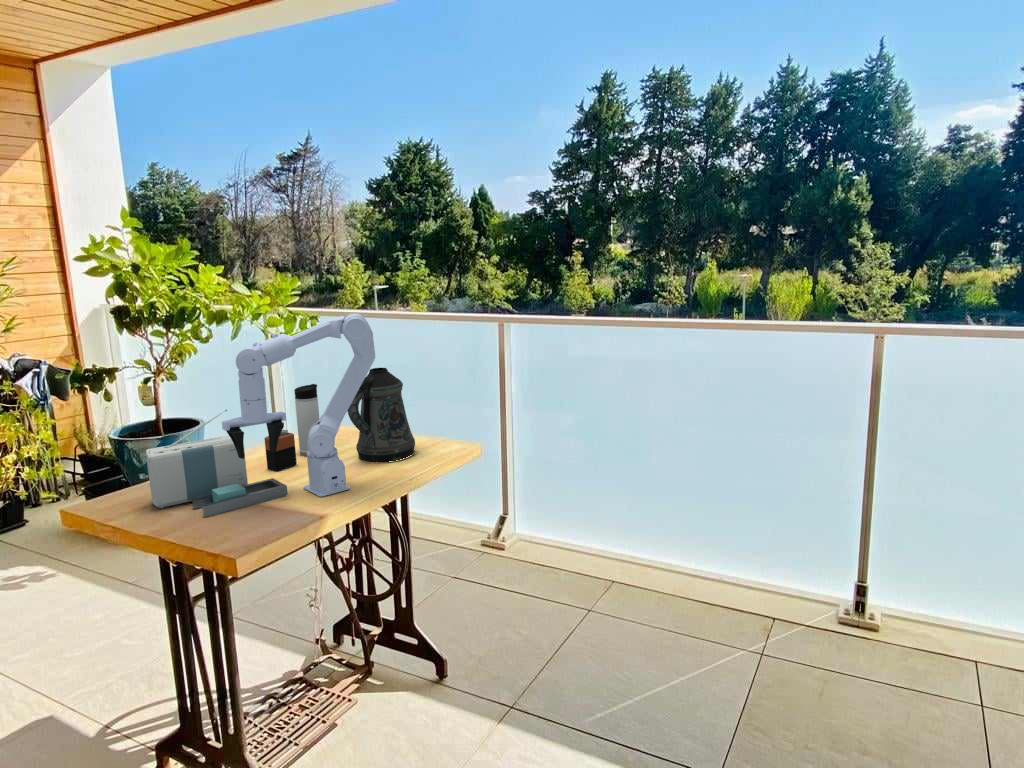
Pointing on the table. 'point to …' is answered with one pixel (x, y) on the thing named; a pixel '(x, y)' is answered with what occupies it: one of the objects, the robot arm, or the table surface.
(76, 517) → the table surface
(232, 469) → the stereo radio cassette player
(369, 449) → the beer stein
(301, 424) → the travel mug
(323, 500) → the table surface
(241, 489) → the block
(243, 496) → the chute
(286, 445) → the battery
